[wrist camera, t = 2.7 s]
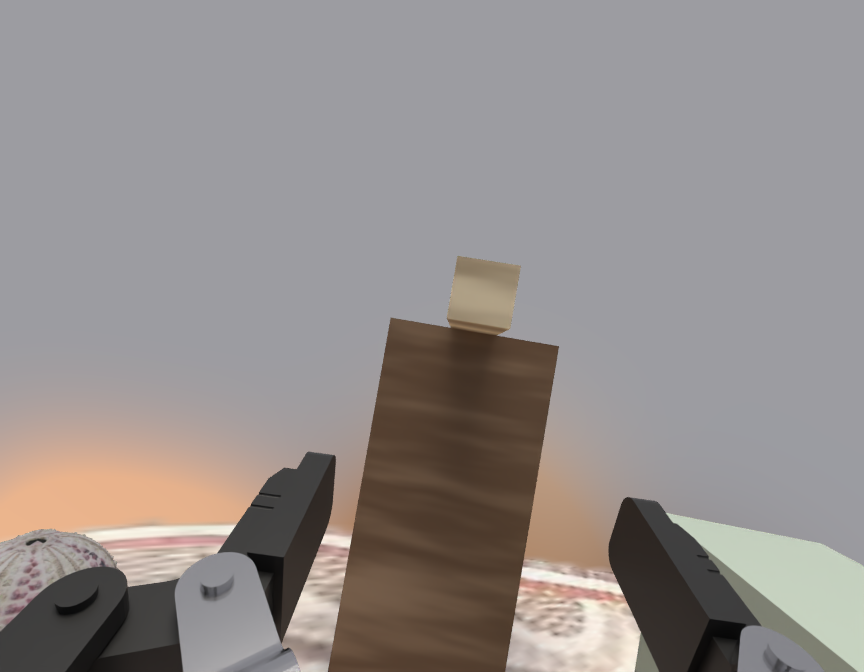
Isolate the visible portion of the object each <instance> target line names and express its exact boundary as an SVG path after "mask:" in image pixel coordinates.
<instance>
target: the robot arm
mask: <svg viewBox="0 0 864 672" xmlns="http://www.w3.org/2000/svg"><path fill="white" fill-rule="evenodd" d="M335 465H336V457H335V455H329V454H321V453H314V452H307V453H306V455H305V457H304V458H303V460H302V462H301V463H300V465H299V467H298V468H297V469H290V468H283V469H282V470H280V471H279V472H277V473H276V474H275V475H273V476H272V477H270V478H269V479H268V480H267V482H266V483H265V485H264V486H263V487H262V489H261V490H260V492H259V495H257V496H256V498H255V499H254V500H253V502H252V504H251V506H250V507H249V508H248V509H247V511H246V512H245V514H244V515H243V517H242V518H241V519H240V521H239V522H238V524H237V525H236V527H235V528H234V530H233V531H232V533H231V534H230V535H229V537H228V538H227V540H226V541H225V543H224V544H223V546H222V547H221V549H220V550H219V551H218V553H217V554H214V555H211V556H208V557H205V558H203V559H201V560H199V561H198V562H196V563H195V564H193V565H192V566H191V567H190V568H188V569H187V570H186V571H185V572H184V574H183V575H182V576H181V578H179V579H176V580H172V581H167V582H160V583H153V584H146V585H139V586H132V587H128V586H127V579H126V576H125V575H124V574H123V572H121V571H120V570H118V569H116V568H113V567H103V566H100V567H91V568H87V569H83V570H79V571H76V572H74V573H71V574H69V575H66V576H64V577H62V578H60V579H59V580H57V581H55V582H54V583H52V584H50V585H49V586H48V587H46V588H45V589H44V590H42V591H41V592H40V593H39V594H38V595H37V596H36V597H35V598H34V599H33V600H32V601H31V602H30V603H29V604H28V605H27V606H26V607H25V608H24V609H23V610H22V611H21V612H20V613H19V614H18V615H17V616H16V617H15V618H14V619H13V620H12V621H11V622H10V623H9V624H8V625H7V626H5V627H4V628H3V629H2V630H1V631H0V672H301V671H300V668H299V665H298V662H297V660H296V657H295V655H294V653H293V651H292V650H291V649H290V648H287V649H285V650H284V649H283V647H282V645H281V643H282V641H283V638H284V636H285V633H286V630H287V628H288V625H289V623H290V620H291V618H292V615H293V613H294V610H295V608H296V605H297V602H298V600H299V597H300V595H301V592H302V590H303V587H304V585H305V582H306V579H307V577H308V574H309V572H310V569H311V567H312V564H313V562H314V559H315V557H316V554H317V551H318V549H319V546H320V544H321V541H322V539H323V536H324V534H325V531H326V528H327V526H328V523H329V519H330V515H331V510H332V503H333V491H334V477H335ZM609 561H610V565H611V568H612V570H613V572H614V575H615V577H616V579H617V581H618V583H619V585H620V588H621V590H622V592H623V594H624V596H625V598H626V601H627V603H628V605H629V607H630V609H631V611H632V614H633V616H634V618H635V620H636V622H637V625H638V627H639V629H640V631H641V633H642V635H643V638H644V640H645V642H646V644H647V646H648V648H649V651H650V653H651V655H652V657H653V659H654V661H655V664H656V666H657V668H658V670H659V672H825V671H824V670H823V669H822V667H821V666H820V665H819V664H818V663H817V662H816V660H815V659H814V658H813V657H812V656H811V655H810V654H808V653H807V652H806V651H805V650H804V649H803V648H801V647H800V646H799V645H798V644H796V643H795V642H793V641H792V640H790V639H789V638H787V637H785V636H784V635H782V634H780V633H778V632H776V631H773V630H771V629H768V628H765V627H762V626H761V624H760V623H759V622H758V620H757V619H756V618H755V616H754V615H753V614H752V612H751V611H750V610H749V609H748V607H747V606H746V605H745V603H744V602H743V601H742V599H741V598H740V597H739V595H738V594H737V593H736V591H735V590H734V589H733V587H732V586H731V585H730V584H729V582H728V581H727V580H726V578H725V577H724V576H723V575H721V574H720V570H719V569H718V568H717V566H716V565H715V564H714V563H713V561H712V560H709V556H708V555H707V553H706V552H705V551H704V549H703V548H702V547H701V545H700V544H699V543H698V542H697V540H696V539H695V538H694V537H692V536H691V535H690V534H689V533H688V532H686V531H685V530H684V529H683V528H682V527H680V526H679V525H678V524H676V523H673V522H672V521H671V519H670V518H669V517H668V515H667V514H666V512H665V511H664V510H663V508H662V507H661V506H660V504H659V503H658V502H655V501H650V500H644V499H637V498H630V497H627V498H625V499H624V500H623V502H622V504H621V507H620V510H619V513H618V516H617V520H616V523H615V526H614V529H613V532H612V535H611V539H610V542H609Z"/></svg>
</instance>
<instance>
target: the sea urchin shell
mask: <svg viewBox="0 0 864 672" xmlns="http://www.w3.org/2000/svg"><path fill="white" fill-rule="evenodd" d="M113 557H114V556H111V555H110V553H108V551H107V550H106V549H105V548H103V546H101V545H100V544H99V543H98V542H96V541H94V540H92V539H91V538H88V537H86V535H85V534H84V535H80V534H77V532H75V533H68V532H59V531H56V530H55V529H47V530H44V529H41V530H36V531H32V532H29V533H26V534H24V535H22V536H20V535H18V536H17V537H16V538H14V539H11V540H8V541H4V542H1V543H0V631H1V630H2V629H3V628H4V627H5V626H7V625H8V624H9V623H10V622H11V621H12V620H13V619H14V618H15V617H16V616H17V615H18V614H19V613H20V612H21V611H22V610H23V609H24V608H25V607H26V606H27V605H28V604H29V603H30V602H31V601H32V600H33V599H34V598H35V597H36V596H37V595H38V594H39V593H40V592H41V591H42V590H44V589H45V588H46V587H48V586H49V585H50V584H52V583H54V582H55V581H57V580H59V579H60V578H62V577H64V576H66V575H69V574H71V573H74V572H76V571H79V570H83V569H87V568H91V567H100V566H103V567H113V568H116V565H117V561H114V560H113ZM116 569H118V568H116ZM118 570H119V569H118Z"/></svg>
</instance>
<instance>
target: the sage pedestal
mask: <svg viewBox="0 0 864 672" xmlns="http://www.w3.org/2000/svg"><path fill="white" fill-rule="evenodd" d="M666 514H667V515H668V517H669V518H670V519H671V521H672V522H673V523H676V524H678V525H679V526H680V527H682V528H683V529H684V530H685V531H686V532H688V533H689V534H690V535H691V536H692V537H694V538H695V539H696V540H697V542H698V543H699V544H700V545H701V547H702V548H703V549H704V551H705V552H706V553H707V555H708V556H709V560H712V561H713V563H714V564H715V565H716V566H717V568H718V569H719V570H720V574H721V575H723V576H724V577H725V578H726V580H727V581H728V582H729V584H730V585H731V586H732V587H733V589H734V590H735V591H736V593H737V594H738V595H739V597H740V598H741V599H742V601H743V602H744V603H745V605H746V606H747V607H748V609H749V610H750V611H751V612H752V614H753V615H754V616H755V618H756V619H757V620H758V622H759V623H760V624H761V626H762V627H765V628H768V629H771V630H773V631H776V632H778V633H780V634H782V635H784V636H785V637H787V638H789V639H790V640H792V641H793V642H795V643H796V644H798V645H799V646H800V647H801V648H803V649H804V650H805V651H806V652H807V653H808V654H810V655H811V656H812V657H813V658H814V659H815V660H816V662H817V663H818V664H819V665H820V666H821V667H822V669H823V670H824V671H825V672H864V566H862V565H861V564H859V563H857V562H855V561H853V560H851V559H849V558H847V557H845V556H844V555H842V554H840V553H838V552H836V551H834V550H832V549H831V548H829V547H827V546H825V545H823V544H820V543H815V542H810V541H805V540H800V539H795V538H790V537H785V536H780V535H775V534H770V533H765V532H760V531H754V530H750V529H745V528H739V527H734V526H729V525H724V524H719V523H714V522H709V521H704V520H699V519H694V518H689V517H684V516H678V515H674V514H668V513H666ZM635 672H659V670H658V668H657V666H656V664H655V661H654V659H653V657H652V655H651V653H650V651H649V648H648V646H647V644H646V642H645V640H644V638H643V635H642V633H641V635H640V642H639V648H638V654H637V661H636V667H635Z"/></svg>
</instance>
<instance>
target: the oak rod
mask: <svg viewBox="0 0 864 672" xmlns="http://www.w3.org/2000/svg"><path fill="white" fill-rule="evenodd" d="M520 268H521V266H519V265H513V264H506V263H500V262H493V261H487V260H481V259H473V258H467V257H461V256H458V257H457V262H456V268H455V274H454V279H453V285H452V292H451V297H450V303H449V309H448V314H447V320H448V322H449V324H450V326H451V328H454V329H460V330H466V331H472V332H477V333H483V334H489V335H495V336H496V335H498V334H500V333H503V332H505V331H506V330H509V329H510V326H511V321H512V315H513V309H514V302H515V297H516V291H517V286H518V280H519V274H520Z"/></svg>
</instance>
